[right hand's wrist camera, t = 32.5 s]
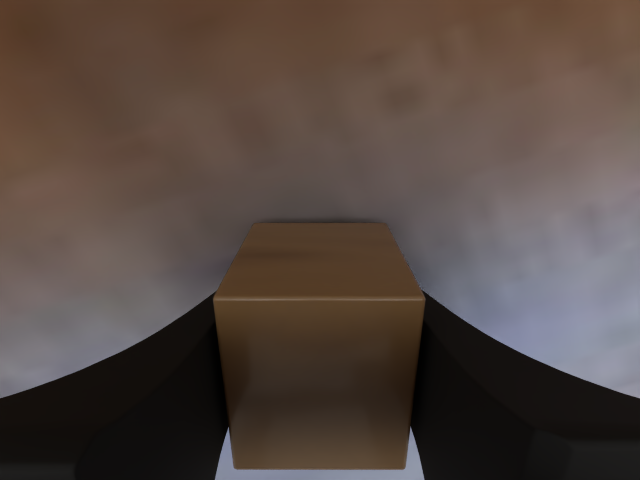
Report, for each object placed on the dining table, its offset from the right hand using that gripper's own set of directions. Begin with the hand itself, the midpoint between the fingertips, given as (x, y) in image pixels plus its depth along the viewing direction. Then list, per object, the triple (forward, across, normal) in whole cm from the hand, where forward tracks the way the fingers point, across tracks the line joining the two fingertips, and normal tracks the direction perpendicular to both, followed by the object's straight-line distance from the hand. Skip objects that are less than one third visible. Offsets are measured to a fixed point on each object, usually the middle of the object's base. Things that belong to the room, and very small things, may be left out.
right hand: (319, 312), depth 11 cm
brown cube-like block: (+1, 0, 0) cm, 1 cm away
